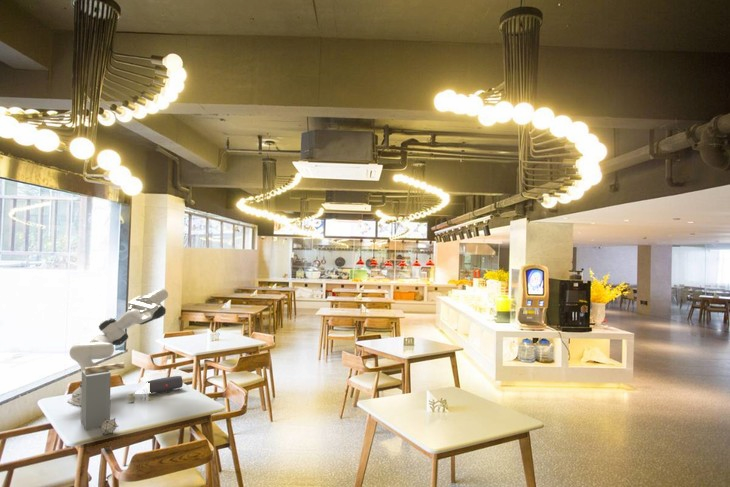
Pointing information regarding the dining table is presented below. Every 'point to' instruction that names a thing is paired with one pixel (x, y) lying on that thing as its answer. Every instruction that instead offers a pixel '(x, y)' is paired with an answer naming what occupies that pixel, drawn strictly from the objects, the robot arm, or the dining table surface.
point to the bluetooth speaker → (165, 384)
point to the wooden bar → (104, 368)
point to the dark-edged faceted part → (108, 426)
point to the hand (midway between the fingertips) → (134, 311)
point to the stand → (95, 399)
